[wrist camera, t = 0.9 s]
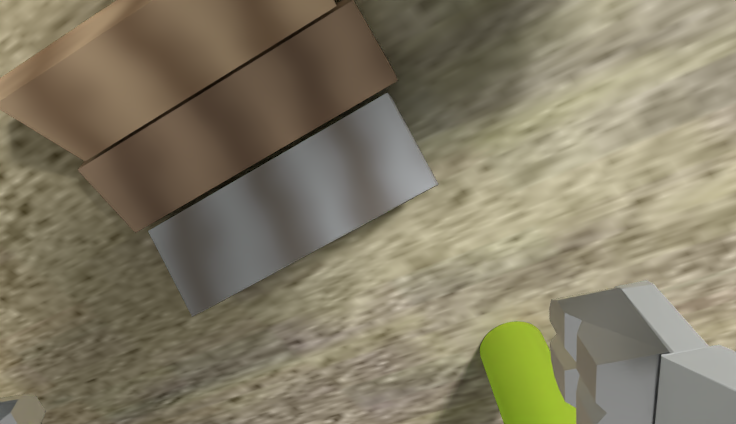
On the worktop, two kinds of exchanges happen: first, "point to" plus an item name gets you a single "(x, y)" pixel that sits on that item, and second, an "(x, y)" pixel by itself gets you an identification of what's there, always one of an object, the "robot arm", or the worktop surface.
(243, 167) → the walnut strip
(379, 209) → the grey plank
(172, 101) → the smoked oak plank
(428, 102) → the worktop surface
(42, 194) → the worktop surface
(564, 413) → the soap dispenser
